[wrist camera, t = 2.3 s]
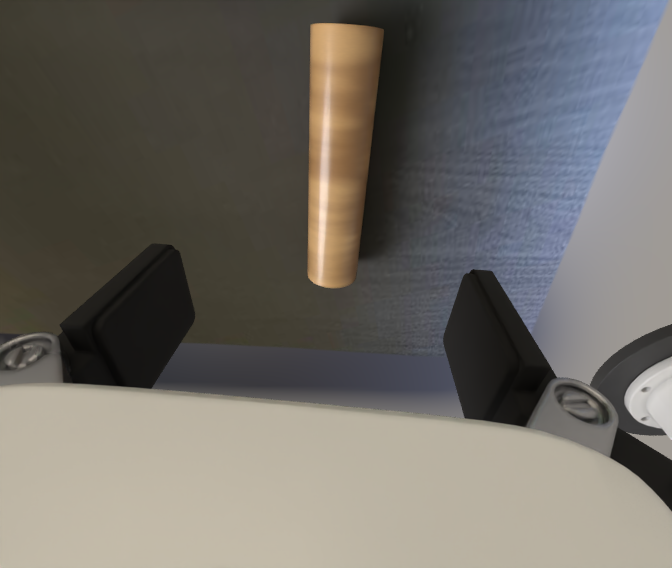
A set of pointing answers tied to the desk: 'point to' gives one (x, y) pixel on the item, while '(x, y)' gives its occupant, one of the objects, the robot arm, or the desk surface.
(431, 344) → the desk surface
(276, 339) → the desk surface
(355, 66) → the wooden cylinder
